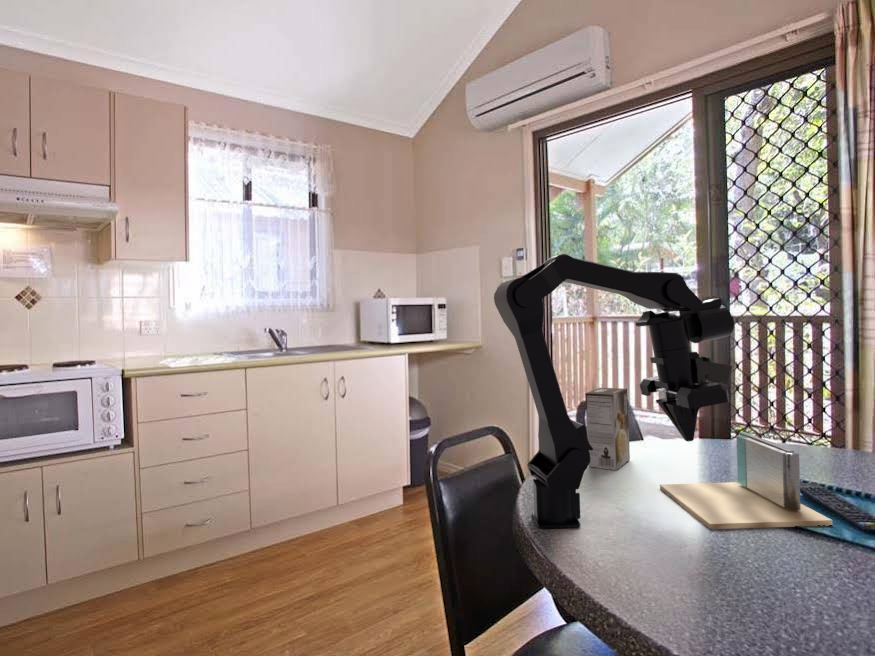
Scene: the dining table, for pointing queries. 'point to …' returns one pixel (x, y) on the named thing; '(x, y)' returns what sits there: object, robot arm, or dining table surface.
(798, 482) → the jaw
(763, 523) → the base
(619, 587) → the dining table surface
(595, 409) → the coffee box
